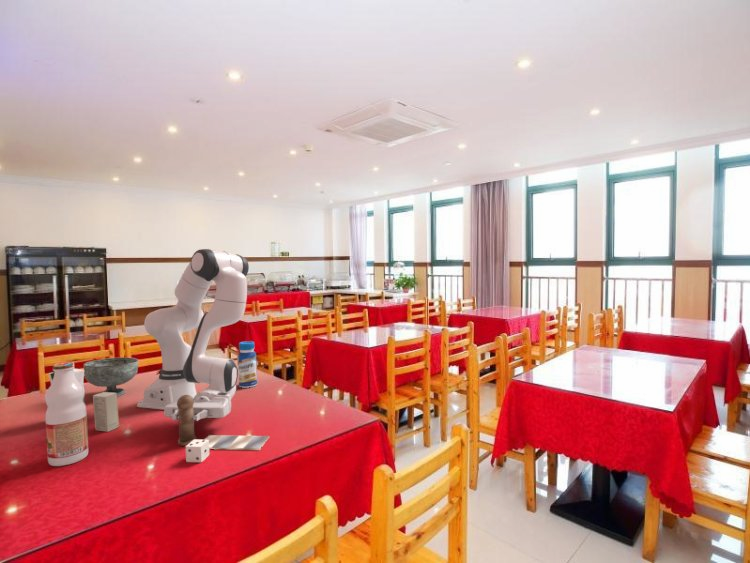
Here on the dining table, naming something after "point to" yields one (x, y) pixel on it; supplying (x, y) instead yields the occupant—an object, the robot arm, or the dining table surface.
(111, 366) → the bowl
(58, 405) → the fruit juice
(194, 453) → the die
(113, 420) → the skincare box
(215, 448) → the board
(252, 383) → the beverage bottle
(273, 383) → the dining table surface
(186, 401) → the pawn
